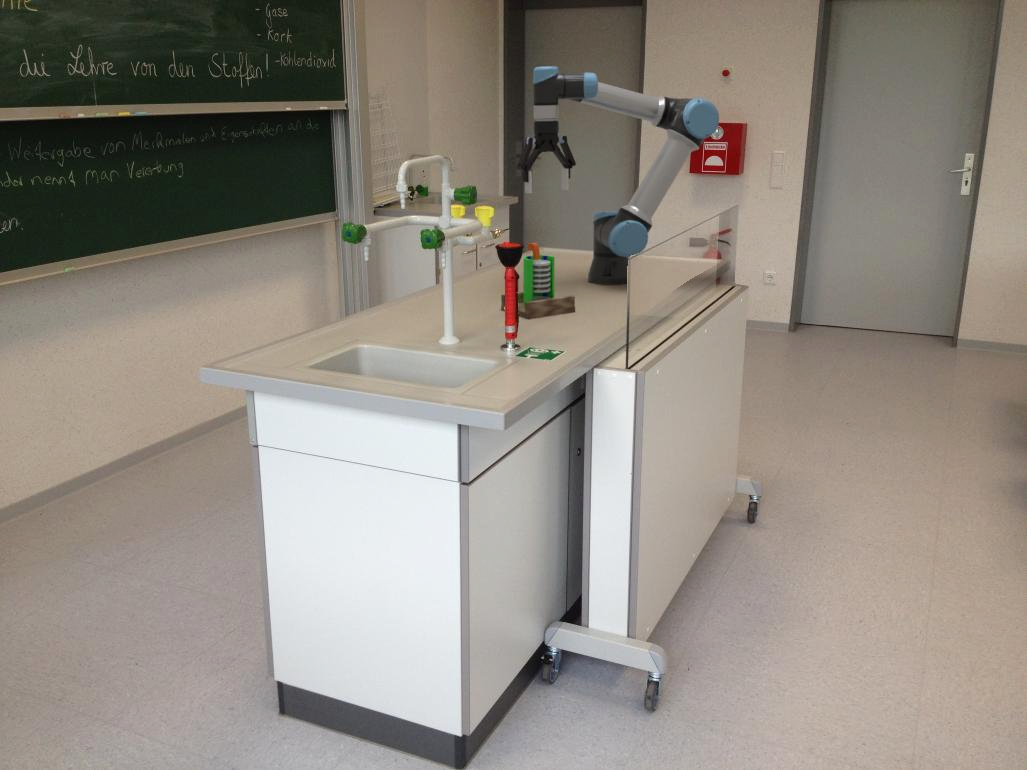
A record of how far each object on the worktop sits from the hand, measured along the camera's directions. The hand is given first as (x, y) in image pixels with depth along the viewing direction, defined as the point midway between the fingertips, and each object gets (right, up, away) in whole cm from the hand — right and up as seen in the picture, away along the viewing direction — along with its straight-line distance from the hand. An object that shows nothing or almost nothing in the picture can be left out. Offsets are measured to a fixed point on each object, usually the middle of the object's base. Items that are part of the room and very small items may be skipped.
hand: (547, 191), depth 299 cm
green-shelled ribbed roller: (-3, -37, -16) cm, 40 cm away
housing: (-3, -38, -16) cm, 41 cm away
